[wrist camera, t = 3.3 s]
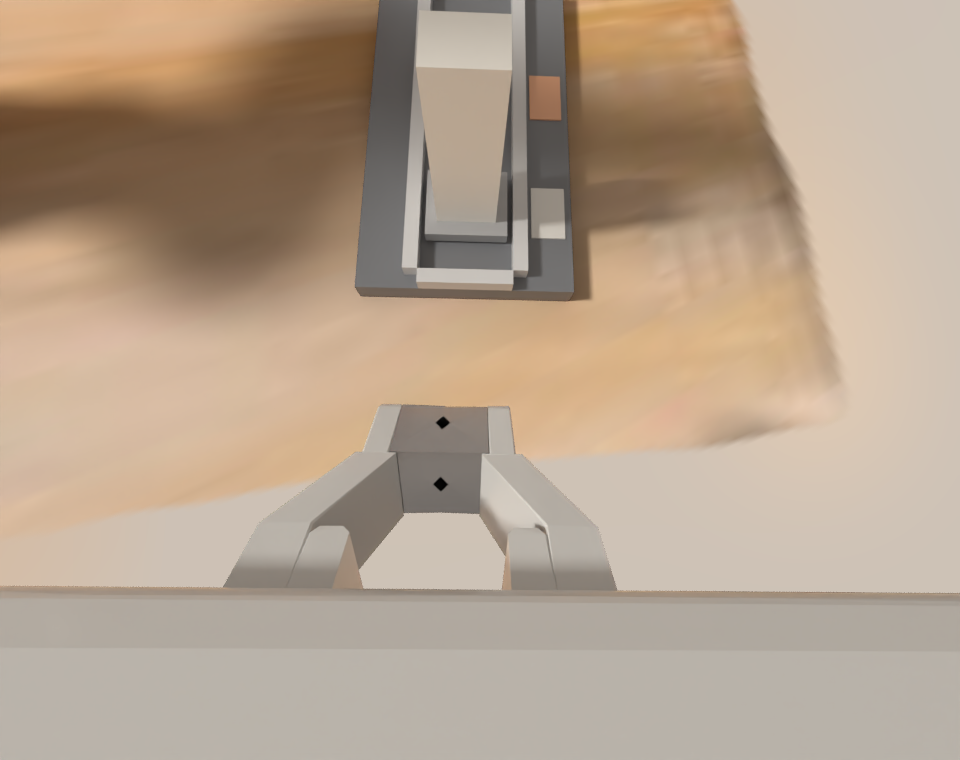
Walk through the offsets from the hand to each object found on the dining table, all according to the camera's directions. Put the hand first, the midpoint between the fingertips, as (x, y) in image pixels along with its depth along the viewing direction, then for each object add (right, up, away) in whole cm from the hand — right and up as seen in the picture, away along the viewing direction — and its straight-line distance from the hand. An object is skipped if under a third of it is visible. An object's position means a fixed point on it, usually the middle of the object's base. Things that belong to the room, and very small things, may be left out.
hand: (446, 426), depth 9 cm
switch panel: (0, +21, +21) cm, 30 cm away
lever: (0, +13, +18) cm, 22 cm away
